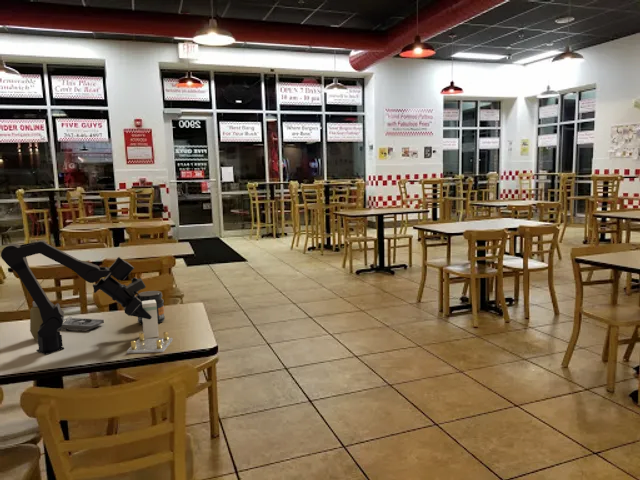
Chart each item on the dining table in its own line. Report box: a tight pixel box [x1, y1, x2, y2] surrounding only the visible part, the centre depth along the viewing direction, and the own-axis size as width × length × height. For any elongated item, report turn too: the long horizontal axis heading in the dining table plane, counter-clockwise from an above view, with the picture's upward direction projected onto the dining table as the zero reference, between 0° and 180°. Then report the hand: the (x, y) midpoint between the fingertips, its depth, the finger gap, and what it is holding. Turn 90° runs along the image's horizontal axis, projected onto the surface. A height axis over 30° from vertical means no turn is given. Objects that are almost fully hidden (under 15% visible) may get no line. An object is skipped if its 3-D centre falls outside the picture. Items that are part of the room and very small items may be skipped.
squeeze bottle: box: [29, 300, 43, 341], centre depth 186 cm, size 8×8×18 cm
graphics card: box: [57, 315, 104, 332], centre depth 199 cm, size 17×4×12 cm
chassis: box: [126, 331, 173, 354], centre depth 175 cm, size 12×12×4 cm
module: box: [142, 300, 160, 339], centre depth 186 cm, size 5×5×13 cm
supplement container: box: [137, 290, 166, 326], centre depth 204 cm, size 10×10×12 cm
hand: (149, 315), depth 186 cm, fingers open, 9 cm apart
